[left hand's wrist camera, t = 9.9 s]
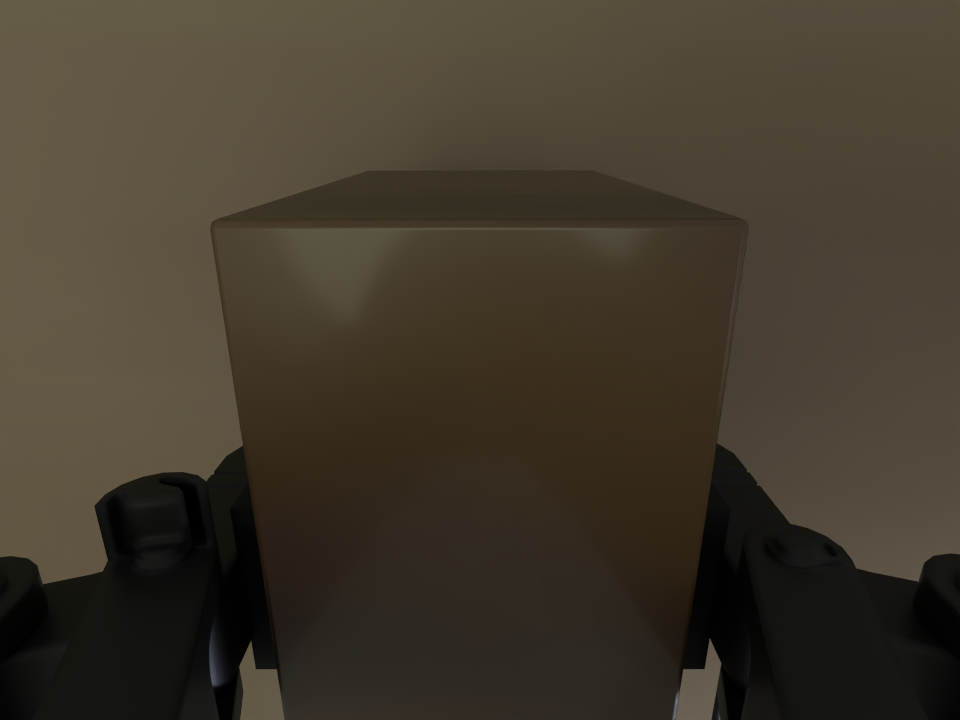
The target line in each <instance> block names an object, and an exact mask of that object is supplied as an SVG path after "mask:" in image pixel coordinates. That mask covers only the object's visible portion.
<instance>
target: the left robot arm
mask: <svg viewBox="0 0 960 720" xmlns="http://www.w3.org/2000/svg"><path fill="white" fill-rule="evenodd" d="M95 510H96V514H97V518H98V522H99V526H100V530H101V534H102V538H103V542H104V546H105V550H106V554H107V558H108V562H107V564H106V566H105V568H104V570H103V572H99V573H95V574H92V575H87V576H82V577H77V578H72V579H67V580H62V581H57V582H52V583H47V584H43V583H42V580H41V577H40V573H39V570H38V567H37V565H36V564H34V563H33V562H32V561H31V560H29V559H28V558H20V557H13V556H9V557H1V558H0V720H240V715H241V706H242V698H243V687H242V680H241V675H240V669H239V666H240V663H241V661H242V659H243V657H244V655H245V652H246V650H247V648H248V646H249V644H250V641H252V648H253V654H254V660H255V666H256V669H277V666H276V659H275V653H274V646H273V639H272V633H271V626H270V620H269V613H268V606H267V600H266V593H265V587H264V580H263V573H262V567H261V560H260V554H259V547H258V540H257V534H256V527H255V521H254V514H253V507H252V501H251V494H250V488H249V481H248V474H247V468H246V461H245V455H244V448H243V446H242V447H240V448H239V449H237V450H235V451H234V452H232V453H230V454H229V455H227V456H226V457H225V459H224V460H223V461H222V462H221V464H220V465H219V466H218V467H217V469H216V470H215V471H214V475H211V476H210V478H209V479H208V480H207V481H205V480H203V479H202V478H201V477H199V476H198V475H194V474H189V473H184V472H171V473H160V474H155V475H150V476H145V477H141V478H138V479H136V480H133V481H130V482H128V483H125V484H122V485H120V486H119V487H117V488H115V489H114V490H112V491H110V492H109V493H107V494H105V495H104V496H103V497H102V498H101V499H100V501H99V502H98V503H97V504H96V505H95ZM709 638H710V639H711V642H712V644H713V646H714V648H715V650H716V652H717V655H718V657H719V659H720V661H721V669H720V675H719V680H718V686H717V692H716V697H715V703H714V709H713V714H712V720H960V555H959V554H943V555H936V556H933V557H931V558H930V559H929V560H927V561H926V562H925V563H924V565H923V569H922V572H921V575H920V579H919V582H917V581H912V580H907V579H902V578H897V577H892V576H887V575H882V574H877V573H872V572H868V571H864V570H860V569H856V567H855V565H854V563H853V561H852V559H851V558H850V557H849V555H848V554H847V553H846V552H845V550H844V549H843V548H842V547H841V546H839V545H838V544H837V543H835V542H834V541H832V540H831V539H829V538H828V537H827V536H824V535H822V534H820V533H817V532H815V531H813V530H811V529H808V528H805V527H801V526H797V525H792V524H790V523H789V522H788V520H787V519H786V518H785V517H784V515H783V514H782V513H781V512H780V510H779V509H778V508H777V507H776V505H775V504H774V503H773V502H772V500H771V499H770V498H769V497H768V495H767V494H766V493H765V492H764V490H763V489H762V488H761V487H760V486H757V482H756V480H755V479H754V478H753V477H752V475H751V474H750V473H747V469H746V468H745V467H744V465H743V464H742V463H741V462H740V460H739V459H738V458H737V457H736V455H735V454H734V453H732V452H730V451H729V450H727V449H726V448H724V447H722V446H721V445H719V444H716V451H715V457H714V464H713V471H712V477H711V484H710V491H709V498H708V504H707V511H706V518H705V525H704V531H703V538H702V545H701V552H700V558H699V565H698V572H697V578H696V585H695V592H694V599H693V605H692V612H691V619H690V626H689V632H688V639H687V646H686V652H685V659H684V666H683V669H705V663H706V657H707V651H708V644H709Z"/></svg>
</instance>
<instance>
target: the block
mask: <svg viewBox="0 0 960 720" xmlns="http://www.w3.org/2000/svg"><path fill="white" fill-rule="evenodd" d="M210 230H211V237H212V243H213V250H214V256H215V263H216V270H217V276H218V283H219V289H220V296H221V303H222V309H223V316H224V322H225V329H226V336H227V342H228V349H229V356H230V362H231V369H232V375H233V382H234V389H235V395H236V402H237V408H238V415H239V422H240V428H241V435H242V441H243V448H244V455H245V461H246V468H247V474H248V481H249V488H250V494H251V501H252V507H253V514H254V521H255V527H256V534H257V540H258V547H259V554H260V560H261V567H262V573H263V580H264V587H265V593H266V600H267V606H268V613H269V620H270V626H271V633H272V639H273V646H274V653H275V659H276V666H277V672H278V679H279V686H280V692H281V699H282V705H283V712H284V719H285V720H676V713H677V706H678V700H679V693H680V686H681V679H682V673H683V666H684V659H685V652H686V646H687V639H688V632H689V626H690V619H691V612H692V605H693V599H694V592H695V585H696V578H697V572H698V565H699V558H700V552H701V545H702V538H703V531H704V525H705V518H706V511H707V504H708V498H709V491H710V484H711V477H712V471H713V464H714V457H715V451H716V444H717V437H718V430H719V424H720V417H721V410H722V403H723V397H724V390H725V383H726V377H727V370H728V363H729V356H730V350H731V343H732V336H733V329H734V323H735V316H736V309H737V303H738V296H739V289H740V282H741V276H742V269H743V262H744V255H745V249H746V242H747V235H748V224H747V221H745V220H743V219H741V218H738V217H735V216H732V215H729V214H725V213H722V212H719V211H716V210H713V209H710V208H707V207H704V206H701V205H697V204H694V203H691V202H688V201H685V200H682V199H679V198H676V197H673V196H670V195H666V194H663V193H660V192H657V191H654V190H651V189H648V188H645V187H642V186H638V185H635V184H632V183H629V182H626V181H623V180H620V179H617V178H614V177H610V176H607V175H604V174H601V173H598V172H595V171H366V172H363V173H360V174H357V175H354V176H351V177H348V178H345V179H341V180H338V181H335V182H332V183H329V184H326V185H323V186H319V187H316V188H313V189H310V190H307V191H304V192H301V193H298V194H294V195H291V196H288V197H285V198H282V199H279V200H276V201H272V202H269V203H266V204H263V205H260V206H257V207H254V208H251V209H247V210H244V211H241V212H238V213H235V214H232V215H229V216H226V217H222V218H219V219H217V220H215V221H213V222H212V223H211V229H210Z"/></svg>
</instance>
